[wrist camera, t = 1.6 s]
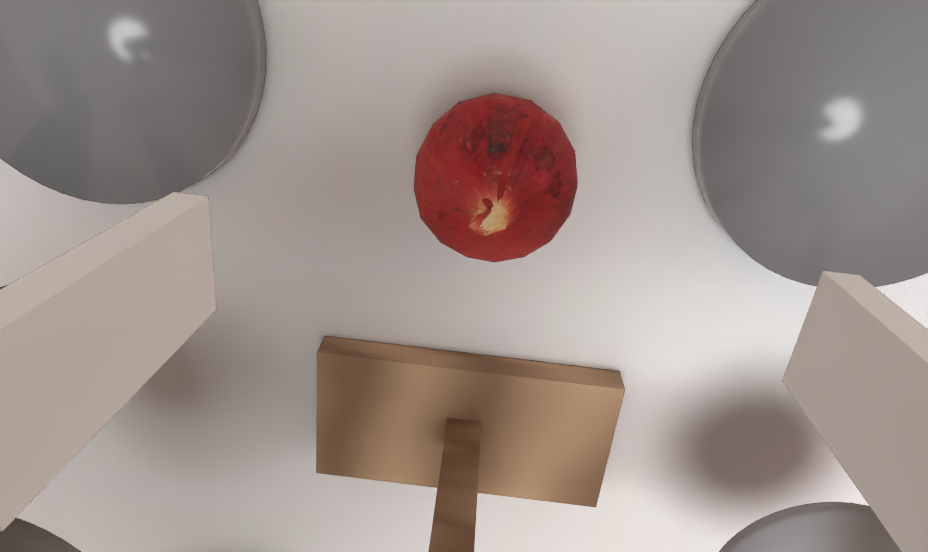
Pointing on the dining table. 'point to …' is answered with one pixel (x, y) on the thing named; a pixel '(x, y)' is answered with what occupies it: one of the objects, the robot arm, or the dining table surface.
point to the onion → (495, 178)
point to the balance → (494, 444)
